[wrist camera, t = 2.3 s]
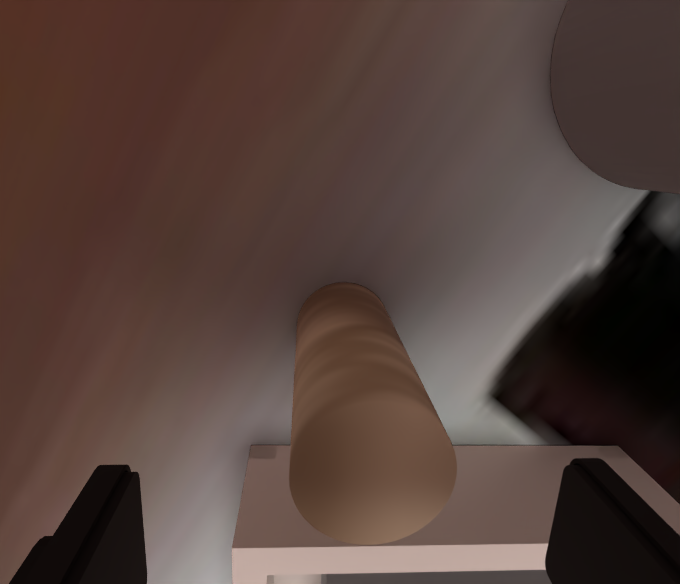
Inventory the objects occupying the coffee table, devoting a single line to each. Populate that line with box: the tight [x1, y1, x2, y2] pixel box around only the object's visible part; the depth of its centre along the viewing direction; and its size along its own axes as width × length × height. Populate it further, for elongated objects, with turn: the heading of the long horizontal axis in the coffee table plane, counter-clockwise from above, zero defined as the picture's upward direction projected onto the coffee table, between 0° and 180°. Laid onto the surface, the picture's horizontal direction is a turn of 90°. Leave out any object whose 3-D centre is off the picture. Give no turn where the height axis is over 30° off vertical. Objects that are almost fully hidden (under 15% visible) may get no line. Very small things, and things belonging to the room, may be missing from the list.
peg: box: [289, 282, 457, 545], centre depth 16 cm, size 4×4×10 cm
